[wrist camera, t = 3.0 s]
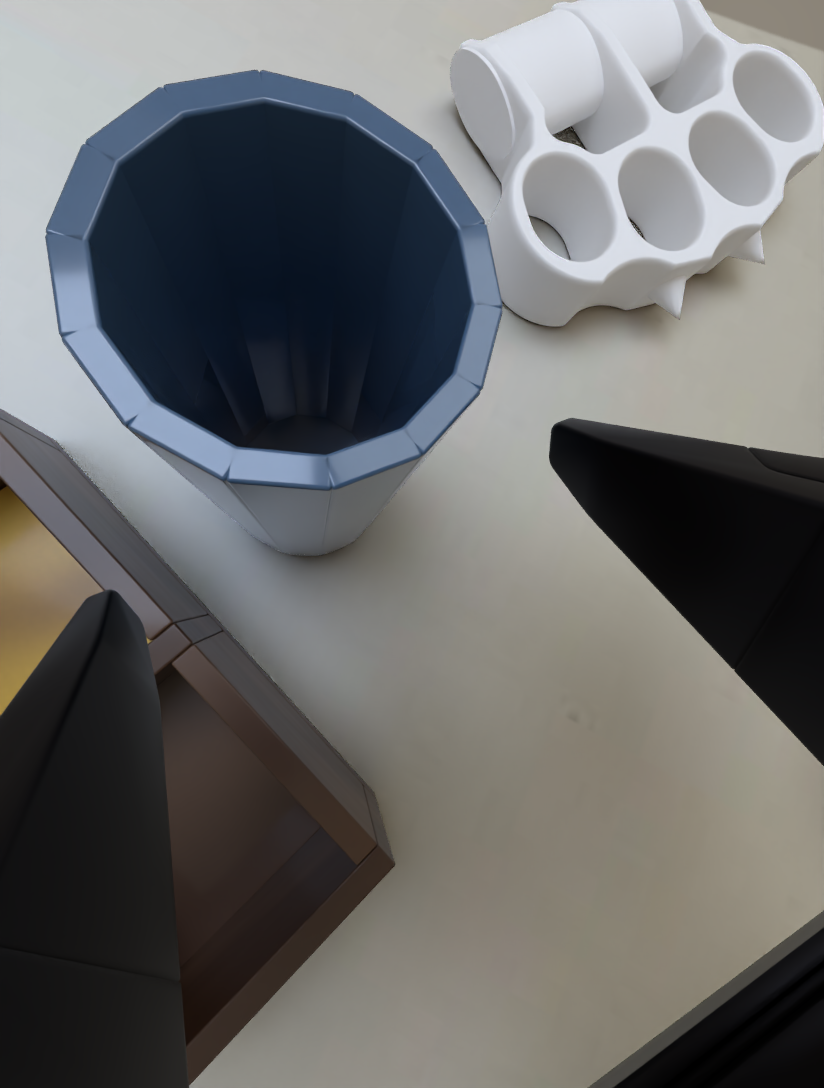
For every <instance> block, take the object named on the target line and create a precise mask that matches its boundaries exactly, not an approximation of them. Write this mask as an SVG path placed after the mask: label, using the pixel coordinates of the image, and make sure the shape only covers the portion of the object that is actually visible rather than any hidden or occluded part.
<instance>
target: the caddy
mask: <svg viewBox="0 0 824 1088" xmlns="http://www.w3.org/2000/svg"><path fill="white" fill-rule="evenodd" d="M108 589H112V590H115V591H117V592H118V593H119V594H120V595H121V596H122V598H123V599H124V600H125V601H126V602H127V603H128V605H129V606H130V607H131V608H132V609H133V611H134V612H135V613H136V614H137V615H138V617H139V618H140V620H141V622H142V624H143V626H144V630H145V634H146V639H147V643H148V648H149V653H150V657H151V662H152V666H153V671H154V676H155V680H156V685H157V690H158V695H159V700H160V709H161V721H162V735H163V748H164V762H165V775H166V789H167V802H168V816H169V829H170V843H171V856H172V870H173V883H174V897H175V910H176V923H177V937H178V950H179V964H180V981H179V982H180V983H181V986H182V1000H183V1013H184V1027H185V1040H186V1054H187V1067H188V1080H189V1085H190V1084H191V1083H192V1082H193V1081H194V1080H195V1079H196V1078H197V1077H198V1076H199V1075H200V1073H201V1072H202V1071H203V1070H204V1069H205V1068H206V1067H207V1066H208V1065H209V1064H210V1063H211V1062H212V1061H213V1060H214V1058H215V1057H216V1056H217V1055H218V1054H219V1053H220V1052H221V1051H222V1050H223V1049H224V1048H225V1047H226V1046H227V1045H228V1043H229V1042H230V1041H231V1040H232V1039H233V1038H234V1037H235V1036H236V1035H237V1034H238V1033H239V1032H240V1031H241V1030H242V1028H243V1027H244V1026H245V1025H246V1024H247V1023H248V1022H249V1021H250V1020H251V1019H252V1018H253V1017H254V1016H255V1015H256V1014H257V1012H258V1011H259V1010H260V1009H261V1008H262V1007H263V1006H264V1005H265V1004H266V1003H267V1002H268V1001H269V1000H270V999H271V997H272V996H273V995H274V994H275V993H276V992H277V991H278V990H279V989H280V988H281V987H282V986H283V985H284V984H285V982H286V981H287V980H288V979H289V978H290V977H291V976H292V975H293V974H294V973H295V972H296V971H297V970H298V969H299V967H300V966H301V965H302V964H303V963H304V962H305V961H306V960H307V959H308V958H309V957H310V956H311V955H312V954H313V953H314V951H315V950H316V949H317V948H318V947H319V946H320V945H321V944H322V943H323V942H324V941H325V940H326V939H327V938H328V936H329V935H330V934H331V933H332V932H333V931H334V930H335V929H336V928H337V927H338V926H339V925H340V924H341V923H342V921H343V920H344V919H345V918H346V917H347V916H348V915H349V914H350V913H351V912H352V911H353V910H354V909H355V908H356V906H357V905H358V904H359V903H360V902H361V901H362V900H363V899H364V898H365V897H366V896H367V895H368V894H369V893H370V892H371V890H372V889H373V888H374V887H375V886H376V885H377V884H378V883H379V882H380V881H381V880H382V879H383V878H384V877H385V875H386V874H387V873H388V872H389V871H390V870H391V869H392V868H393V867H394V866H395V862H394V858H393V855H392V852H391V848H390V845H389V841H388V838H387V835H386V831H385V828H384V824H383V821H382V818H381V814H380V811H379V807H378V804H377V801H376V797H375V794H374V792H373V791H372V790H371V789H370V788H369V786H368V785H367V784H366V783H365V782H364V781H363V780H362V779H361V778H360V777H359V775H358V774H357V773H356V772H355V771H354V770H353V769H352V768H351V767H350V766H349V764H348V763H347V762H346V761H345V760H344V759H343V758H342V757H341V756H340V755H339V753H338V752H337V751H336V750H335V749H334V748H333V747H332V746H331V745H330V743H329V742H328V741H327V740H326V739H325V738H324V737H323V736H322V735H321V734H320V732H319V731H318V730H317V729H316V728H315V727H314V726H313V725H312V724H311V723H310V721H309V720H308V719H307V718H306V717H305V716H304V715H303V714H302V713H301V711H300V710H299V709H298V708H297V707H296V706H295V705H294V704H293V703H292V702H291V700H290V699H289V698H288V697H287V696H286V695H285V694H284V693H283V692H282V691H281V689H280V688H279V687H278V686H277V685H276V684H275V683H274V682H273V681H272V680H271V678H270V677H269V676H268V675H267V674H266V673H265V672H264V671H263V670H262V668H261V667H260V666H259V665H258V664H257V663H256V662H255V661H254V660H253V659H252V657H251V656H250V655H249V654H248V653H247V652H246V651H245V650H244V649H243V648H242V646H241V645H240V644H239V643H238V642H237V641H236V640H235V639H234V638H233V636H232V635H231V634H230V633H229V632H228V631H227V630H226V629H225V628H224V627H223V625H222V624H221V623H220V622H219V621H218V620H217V619H216V618H215V617H214V616H213V614H212V613H211V612H210V611H209V610H208V609H207V608H206V607H205V606H204V605H203V603H202V602H201V601H200V600H199V599H198V598H197V597H196V596H195V595H194V593H193V592H192V591H191V590H190V589H189V588H188V587H187V586H186V585H185V584H184V582H183V581H182V580H181V579H180V578H179V577H178V576H177V575H176V574H175V573H174V571H173V570H172V569H171V568H170V567H169V566H168V565H167V564H166V563H165V561H164V560H163V559H162V558H161V557H160V556H159V555H158V554H157V553H156V552H155V550H154V549H153V548H152V547H151V546H150V545H149V544H148V543H147V542H146V541H145V539H144V538H143V537H142V536H141V535H140V534H139V533H138V532H137V531H136V530H135V528H134V527H133V526H132V525H131V524H130V523H129V522H128V521H127V520H126V518H125V517H124V516H123V515H122V514H121V513H120V512H119V511H118V510H117V509H116V507H115V506H114V505H113V504H112V503H111V502H110V501H109V500H108V499H107V498H106V496H105V495H104V494H103V493H102V492H101V491H100V490H99V489H98V488H97V486H96V485H95V484H94V483H93V482H92V481H91V480H90V479H89V478H88V477H87V475H86V474H85V473H84V472H83V471H82V470H81V469H80V468H79V467H78V466H77V464H76V463H75V462H74V461H73V460H72V459H71V458H70V457H69V456H68V455H67V453H66V452H65V451H64V450H63V449H62V448H61V447H60V446H59V445H58V443H57V442H56V441H55V440H54V439H52V438H50V437H48V436H47V435H45V434H43V433H42V432H40V431H38V430H36V429H35V428H33V427H31V426H30V425H28V424H26V423H24V422H23V421H21V420H19V419H17V418H16V417H14V416H12V415H11V414H9V413H7V412H5V411H4V410H2V409H0V716H1V714H2V713H3V712H4V710H5V709H6V707H7V706H8V705H9V703H10V702H11V701H12V699H13V698H14V696H15V695H16V694H17V692H18V691H19V690H20V688H21V687H22V686H23V684H24V683H25V681H26V680H27V679H28V677H29V676H30V675H31V673H32V672H33V670H34V669H35V668H36V666H37V665H38V664H39V662H40V661H41V660H42V658H43V657H44V655H45V654H46V653H47V651H48V650H49V649H50V647H51V646H52V644H53V643H54V642H55V640H56V639H57V638H58V636H59V635H60V633H61V632H62V631H63V629H64V628H65V627H66V625H67V624H68V623H69V621H70V620H71V618H72V617H73V616H74V614H75V613H76V612H77V610H78V609H79V607H80V606H81V605H82V603H83V602H84V601H85V600H86V598H88V597H90V596H92V595H95V594H97V593H100V592H103V591H106V590H108Z"/></svg>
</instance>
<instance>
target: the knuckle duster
mask: <svg viewBox="0 0 824 1088" xmlns="http://www.w3.org/2000/svg"><path fill="white" fill-rule="evenodd" d="M450 81H451V88H452V92H453V96H454V100H455V103H456V106H457V109H458V112H459V115H460V117H461V120H462V122H463V124H464V126H465V128H466V130H467V132H468V134H469V135H470V137H471V138H472V140H473V141H474V143H475V144H476V145H477V146H478V147H479V149H480V151H481V153H482V154H483V156H484V157H485V159H486V160H487V162H488V163H489V165H490V167H491V168H492V170H493V171H494V173H495V174H496V176H497V177H498V179H499V181H500V182H501V185H502V196H501V198H500V200H499V203H498V205H497V207H496V209H495V211H494V213H493V215H492V217H491V219H490V222H489V224H488V226H487V230H488V235H489V240H490V245H491V250H492V255H493V259H494V264H495V269H496V274H497V279H498V284H499V289H500V294H501V299H502V301H503V302H504V303H505V304H506V305H507V306H508V307H509V308H510V309H511V310H512V311H514V312H515V313H516V314H518V315H519V316H521V317H523V318H524V319H526V320H529V321H531V322H534V323H537V324H540V325H545V326H564V325H565V324H566V323H567V322H568V321H569V320H570V319H571V318H572V317H573V316H574V315H575V314H576V313H577V312H579V311H580V310H582V309H585V308H588V307H591V306H597V305H607V306H613V307H617V308H620V309H623V310H630V309H634V308H638V307H642V306H646V305H650V304H654V303H657V304H658V305H659V306H661V307H662V308H664V309H665V310H666V311H668V312H669V313H671V314H672V315H673V316H675V317H676V318H677V319H679V320H680V314H681V308H682V302H683V296H684V289H685V283H686V281H687V280H688V279H689V278H690V277H691V276H693V275H694V274H704V273H707V272H708V271H709V270H711V269H712V268H713V267H714V266H716V265H717V264H718V263H719V262H721V261H722V260H723V259H724V258H725V257H727V256H730V257H734V258H739V259H743V260H748V261H752V262H757V263H761V264H765V262H764V255H763V247H762V239H761V232H760V229H761V227H762V226H763V225H764V224H765V222H766V221H767V220H768V219H769V217H770V216H771V215H772V213H773V212H774V211H775V210H776V208H777V207H778V206H779V205H780V203H781V202H782V200H783V191H784V185H785V184H786V183H787V182H788V181H789V180H791V179H792V178H793V177H794V176H795V175H796V174H797V173H799V172H800V171H801V170H802V169H803V168H804V167H806V166H807V165H808V164H809V163H810V162H811V161H813V160H814V159H815V158H816V157H817V156H818V154H819V153H820V151H821V149H822V146H823V144H824V107H823V104H822V101H821V98H820V95H819V93H818V91H817V89H816V87H815V85H814V84H813V82H812V81H811V79H810V78H809V76H808V75H807V74H806V72H805V71H804V70H803V69H802V68H801V67H800V66H799V65H798V64H797V63H796V62H795V61H794V60H792V59H791V58H790V57H789V56H787V55H786V54H784V53H782V52H781V51H779V50H777V49H774V48H772V47H769V46H766V45H761V44H740V43H738V42H737V41H735V40H734V39H732V38H730V37H729V36H727V35H726V34H724V33H723V32H721V31H719V30H718V29H717V28H716V27H715V25H714V24H713V22H712V20H711V19H710V17H709V15H708V14H707V12H706V11H705V9H704V8H703V6H702V4H701V3H700V1H699V0H578V1H576V2H573V3H568V2H560V3H557V4H555V5H553V7H552V9H551V12H549V13H546V14H544V15H542V16H539V17H537V18H534V19H532V20H529V21H527V22H525V23H522V24H520V25H517V26H515V27H512V28H510V29H508V30H505V31H503V32H500V33H498V34H496V35H493V36H491V37H488V38H486V39H483V40H481V41H479V40H475V39H469V40H467V41H465V42H462V43H461V45H460V49H459V50H458V51H456V53H455V54H454V56H453V58H452V62H451V67H450ZM570 126H572V128H573V129H574V131H575V132H576V134H577V135H578V137H579V139H580V140H581V142H582V143H583V145H584V146H585V148H586V150H585V149H583V148H581V147H579V146H577V145H574V144H571V143H567V142H562V141H560V140H558V139H556V138H555V137H553V136H552V135H554V134H556V133H558V132H560V131H562V130H564V129H566V128H568V127H570ZM529 216H533V217H537V218H539V219H542V220H544V221H545V222H547V223H549V224H550V225H551V226H552V227H554V228H555V229H556V230H557V232H558V233H559V234H560V235H561V237H562V238H563V240H564V242H565V244H566V247H567V250H568V253H569V256H570V259H571V261H570V260H567V259H564V258H562V257H560V256H558V255H556V254H555V253H553V252H552V251H551V250H549V249H548V248H547V247H546V246H545V245H544V244H543V243H542V242H541V240H540V239H539V238H538V236H537V235H536V233H535V231H534V229H533V227H532V225H531V222H530V219H529ZM628 217H629V218H630V219H631V220H633V221H634V223H635V224H636V225H637V226H638V227H639V229H640V231H641V232H642V234H643V236H644V239H645V240H644V239H643V238H642V237H641V236H640V235H639V234H638V233H637V232H636V230H635V229H634V228H633V226H632V224H631V223H630V221H629V219H628Z"/></svg>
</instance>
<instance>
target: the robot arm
mask: <svg viewBox="0 0 824 1088" xmlns="http://www.w3.org/2000/svg"><path fill="white" fill-rule="evenodd" d="M549 460H550V464H551V466H552V468H553V469H554V471H555V472H556V473H557V475H558V476H559V477H560V479H561V480H562V481H563V483H564V484H565V485H566V487H567V488H568V489H569V491H570V492H571V493H572V495H573V496H574V497H575V499H576V500H577V501H578V503H579V504H580V505H581V507H582V508H583V509H584V510H585V512H586V513H587V514H588V515H589V517H590V518H591V519H592V520H593V521H594V522H595V523H596V524H597V525H598V527H599V528H600V529H601V530H602V531H603V532H604V533H605V534H606V535H607V536H608V537H609V538H610V539H611V540H612V541H613V542H614V544H615V545H616V546H617V547H618V548H619V549H620V550H621V551H622V552H623V553H624V554H625V555H626V556H627V557H628V558H629V559H630V561H631V562H632V563H633V564H634V565H635V566H636V567H637V568H638V569H639V570H640V571H641V572H642V573H643V574H644V575H645V576H646V578H647V579H648V580H649V581H650V582H651V583H652V584H653V585H654V586H655V587H656V588H657V589H658V590H659V591H660V592H661V593H662V595H663V596H664V597H665V598H666V599H667V600H668V601H669V602H670V603H671V604H672V605H673V606H674V607H675V608H676V609H677V610H678V611H679V613H680V614H681V615H682V616H683V617H684V618H685V619H686V620H687V621H688V622H689V623H690V624H691V625H692V626H693V627H694V628H695V630H696V631H697V632H698V633H699V634H700V635H701V636H702V637H703V638H704V639H705V640H706V641H707V642H708V643H709V644H710V645H711V647H712V648H713V649H714V650H715V651H716V652H717V653H718V654H719V655H720V656H721V657H722V658H723V659H724V660H725V661H726V662H727V664H728V665H729V666H730V667H731V668H732V669H735V670H734V671H735V672H736V673H737V674H738V676H739V677H740V678H741V679H742V680H743V681H744V682H745V683H746V684H747V685H748V686H749V687H750V688H751V689H752V690H753V691H754V693H755V694H756V695H757V696H758V697H759V698H760V699H761V700H762V701H763V702H764V703H765V704H766V705H767V706H768V707H769V709H770V710H771V711H772V712H773V713H774V714H775V715H776V716H777V717H778V718H779V719H780V720H781V721H782V722H783V723H784V724H785V726H786V727H787V728H788V729H789V730H790V731H791V732H792V733H793V734H794V735H795V736H796V737H797V738H798V739H799V740H800V741H801V743H802V744H803V745H804V746H805V747H806V748H807V749H808V750H809V751H810V752H811V753H812V754H813V755H814V756H815V757H816V758H817V760H818V761H819V762H820V763H821V764H822V765H823V766H824V458H819V457H811V456H803V455H796V454H790V453H783V452H776V451H770V450H764V449H758V448H752V447H750V448H747V447H745V446H739V445H733V444H727V443H721V442H715V441H709V440H703V439H697V438H691V437H685V436H678V435H672V434H666V433H660V432H654V431H648V430H642V429H636V428H630V427H624V426H618V425H612V424H606V423H600V422H594V421H588V420H581V419H575V418H569V419H566V420H563V421H561V422H558V423H556V424H555V425H554V426H553V427H552V430H551V440H550V451H549ZM179 981H180V964H179V950H178V937H177V923H176V910H175V897H174V883H173V870H172V856H171V843H170V829H169V816H168V802H167V789H166V775H165V762H164V748H163V735H162V721H161V709H160V700H159V695H158V690H157V685H156V680H155V676H154V671H153V666H152V662H151V657H150V653H149V648H148V643H147V639H146V634H145V630H144V626H143V624H142V622H141V620H140V618H139V617H138V615H137V614H136V613H135V612H134V611H133V609H132V608H131V607H130V606H129V605H128V603H127V602H126V601H125V600H124V599H123V598H122V596H121V595H120V594H119V593H118V592H117V591H115V590H112V589H108V590H106V591H103V592H100V593H97V594H95V595H92V596H90V597H88V598H86V600H85V601H84V602H83V603H82V605H81V606H80V607H79V609H78V610H77V612H76V613H75V614H74V616H73V617H72V618H71V620H70V621H69V623H68V624H67V625H66V627H65V628H64V629H63V631H62V632H61V633H60V635H59V636H58V638H57V639H56V640H55V642H54V643H53V644H52V646H51V647H50V649H49V650H48V651H47V653H46V654H45V655H44V657H43V658H42V660H41V661H40V662H39V664H38V665H37V666H36V668H35V669H34V670H33V672H32V673H31V675H30V676H29V677H28V679H27V680H26V681H25V683H24V684H23V686H22V687H21V688H20V690H19V691H18V692H17V694H16V695H15V696H14V698H13V699H12V701H11V702H10V703H9V705H8V706H7V707H6V709H5V710H4V712H3V713H2V714H1V716H0V1088H189V1080H188V1067H187V1054H186V1040H185V1027H184V1013H183V1000H182V986H181V983H180V982H179ZM588 1088H824V911H823V912H821V913H820V914H819V915H817V916H816V917H815V918H813V919H812V920H811V921H809V922H808V923H807V924H805V925H804V926H803V927H801V928H800V929H799V930H797V931H796V932H795V933H793V934H792V935H791V936H789V937H788V938H787V939H785V940H784V941H783V942H781V943H780V944H779V945H777V946H776V947H775V948H773V949H772V950H771V951H769V952H768V953H767V954H765V955H764V956H763V957H761V958H760V959H759V960H757V961H756V962H755V963H753V964H752V965H751V966H749V967H748V968H747V969H745V970H744V971H743V972H741V973H740V974H739V975H737V976H736V977H735V978H733V979H732V980H731V981H729V982H728V983H727V984H725V985H724V986H723V987H721V988H720V989H719V990H717V991H716V992H715V993H713V994H712V995H711V996H709V997H708V998H707V999H705V1000H704V1001H703V1002H701V1003H700V1004H699V1005H697V1006H696V1007H695V1008H693V1009H692V1010H691V1011H689V1012H688V1013H687V1014H685V1015H684V1016H683V1017H681V1018H680V1019H679V1020H677V1021H676V1022H675V1023H673V1024H672V1025H671V1026H669V1027H668V1028H667V1029H665V1030H664V1031H663V1032H661V1033H660V1034H659V1035H657V1036H656V1037H655V1038H653V1039H652V1040H651V1041H649V1042H648V1043H647V1044H645V1045H644V1046H643V1047H641V1048H640V1049H639V1050H637V1051H636V1052H635V1053H633V1054H632V1055H631V1056H629V1057H628V1058H627V1059H625V1060H624V1061H623V1062H621V1063H620V1064H619V1065H617V1066H616V1067H615V1068H613V1069H612V1070H611V1071H609V1072H608V1073H607V1074H605V1075H604V1076H603V1077H601V1078H600V1079H599V1080H597V1081H596V1082H595V1083H593V1084H592V1085H591V1086H589V1087H588Z"/></svg>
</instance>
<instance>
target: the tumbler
mask: <svg viewBox="0 0 824 1088" xmlns="http://www.w3.org/2000/svg"><path fill="white" fill-rule="evenodd" d="M85 143H86V144H83V145H82V146H81V148H80V150H79V153H78V155H77V157H76V160H75V162H74V164H73V167H72V169H71V171H70V174H69V176H68V178H67V181H66V183H65V185H64V188H63V190H62V193H61V195H60V197H59V200H58V202H57V204H56V207H55V209H54V211H53V214H52V216H51V218H50V221H49V223H48V225H47V228H46V236H45V238H46V245H47V252H48V259H49V266H50V273H51V280H52V287H53V294H54V301H55V308H56V315H57V322H58V329H59V334H60V336H61V337H62V341H63V343H64V345H65V346H66V348H67V349H68V350H69V352H70V353H71V354H72V356H73V357H74V358H75V360H76V361H77V363H78V364H79V365H80V367H81V368H82V369H83V371H84V372H85V373H86V375H87V376H88V378H89V379H90V380H91V382H92V383H93V384H94V386H95V387H96V388H97V390H98V391H99V393H100V394H101V395H102V397H103V398H104V399H105V401H106V402H107V403H108V405H109V406H110V408H111V409H112V410H113V412H114V413H115V414H116V416H117V417H118V418H119V420H120V421H121V423H122V424H123V425H124V426H125V427H126V428H128V429H129V430H130V431H131V432H132V433H133V434H134V435H136V436H137V437H138V438H139V439H140V440H141V441H143V442H144V443H145V444H146V445H147V446H148V447H150V448H151V449H152V450H153V451H154V452H155V453H156V454H158V455H159V456H160V457H161V458H162V459H163V460H165V461H166V462H167V463H168V464H169V465H170V466H171V467H173V468H174V469H175V470H176V471H177V472H178V473H180V474H181V475H182V476H183V477H184V478H185V479H187V480H188V481H189V482H190V483H191V484H192V485H193V486H195V487H196V488H197V489H198V490H199V491H200V492H202V493H203V494H204V495H205V496H206V497H207V498H209V499H210V500H211V501H212V502H213V503H214V504H215V505H217V506H218V507H219V508H220V509H221V510H222V511H224V512H225V513H226V514H227V515H228V516H229V517H230V518H232V519H233V520H234V521H235V522H236V523H237V524H239V525H240V526H241V527H242V528H243V529H244V530H246V531H247V532H248V533H249V534H250V535H251V536H252V537H254V538H256V539H258V540H260V541H261V542H263V543H264V544H266V545H268V546H270V547H272V548H274V549H276V550H278V551H280V552H282V553H285V554H292V555H300V556H315V555H317V556H320V555H324V554H326V553H330V552H333V551H336V550H338V549H340V548H343V547H344V546H346V545H348V544H351V543H353V542H354V541H355V540H356V539H357V538H358V537H359V536H360V535H361V534H362V533H363V531H364V530H365V529H366V528H367V527H368V526H369V525H370V524H371V523H372V521H373V520H374V519H375V518H376V517H377V516H378V515H379V513H380V512H381V511H382V510H383V509H384V507H385V506H386V505H387V504H388V503H389V502H390V500H391V499H392V498H393V497H394V496H395V494H396V493H397V492H398V491H399V490H400V488H401V487H402V486H403V485H404V484H405V483H406V481H407V480H408V479H409V478H410V477H411V475H412V474H413V473H414V472H415V471H416V469H417V468H418V467H419V466H420V465H421V463H422V462H423V461H424V460H425V459H426V458H427V456H428V455H429V454H430V453H431V452H432V450H433V449H434V448H435V447H436V446H437V444H438V443H439V442H440V441H441V440H442V439H443V437H444V436H445V435H446V434H447V433H448V431H449V430H450V429H451V428H452V427H453V425H454V424H455V423H456V422H457V421H458V420H459V418H460V417H461V416H462V415H463V414H464V412H465V411H466V410H467V409H468V408H469V406H470V405H471V404H472V403H473V402H474V401H475V399H476V398H477V397H478V396H479V394H480V391H481V390H482V389H483V386H484V382H485V378H486V374H487V370H488V366H489V363H490V359H491V355H492V351H493V347H494V343H495V339H496V335H497V331H498V328H499V324H500V320H501V316H502V306H503V304H502V299H501V294H500V289H499V284H498V279H497V274H496V269H495V264H494V259H493V255H492V250H491V245H490V240H489V235H488V230H487V225H486V224H484V223H485V222H484V219H483V218H482V216H481V215H480V213H479V212H478V210H477V209H476V207H475V206H474V204H473V203H472V201H471V200H470V199H469V197H468V196H467V194H466V193H465V191H464V190H463V188H462V187H461V185H460V184H459V182H458V181H457V179H456V178H455V177H454V175H453V174H452V172H451V171H450V169H449V168H448V166H447V165H446V163H445V162H444V160H443V159H442V158H441V156H440V155H439V153H438V152H437V150H435V149H433V147H432V145H431V144H429V143H428V142H426V141H425V140H423V139H422V138H420V137H419V136H418V135H416V134H415V133H413V132H412V131H410V130H409V129H407V128H406V127H405V126H403V125H402V124H400V123H399V122H397V121H396V120H394V119H393V118H391V117H390V116H389V115H387V114H386V113H384V112H383V111H381V110H380V109H378V108H377V107H375V106H374V105H373V104H371V103H370V102H368V101H367V100H365V99H364V98H362V97H361V96H359V95H357V94H355V95H354V93H353V92H351V91H347V90H343V89H339V88H335V87H331V86H326V85H322V84H318V83H314V82H310V81H306V80H302V79H297V78H293V77H289V76H285V75H281V74H277V73H273V72H268V71H264V70H262V71H260V73H259V71H258V70H251V71H245V72H239V73H232V74H226V75H220V76H214V77H208V78H202V79H196V80H190V81H184V82H178V83H172V84H166V85H164V88H162V87H158V88H157V89H156V90H154V91H153V92H151V93H150V94H149V95H147V96H146V97H145V98H143V99H142V100H141V101H139V102H138V103H136V104H135V105H134V106H132V107H131V108H130V109H128V110H127V111H125V112H124V113H123V114H121V115H120V116H119V117H117V118H116V119H114V120H113V121H112V122H110V123H109V124H108V125H106V126H105V127H104V128H102V129H101V130H99V131H98V132H97V133H95V134H94V135H93V136H91V137H90V138H88V139H87V140H86V142H85Z"/></svg>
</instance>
